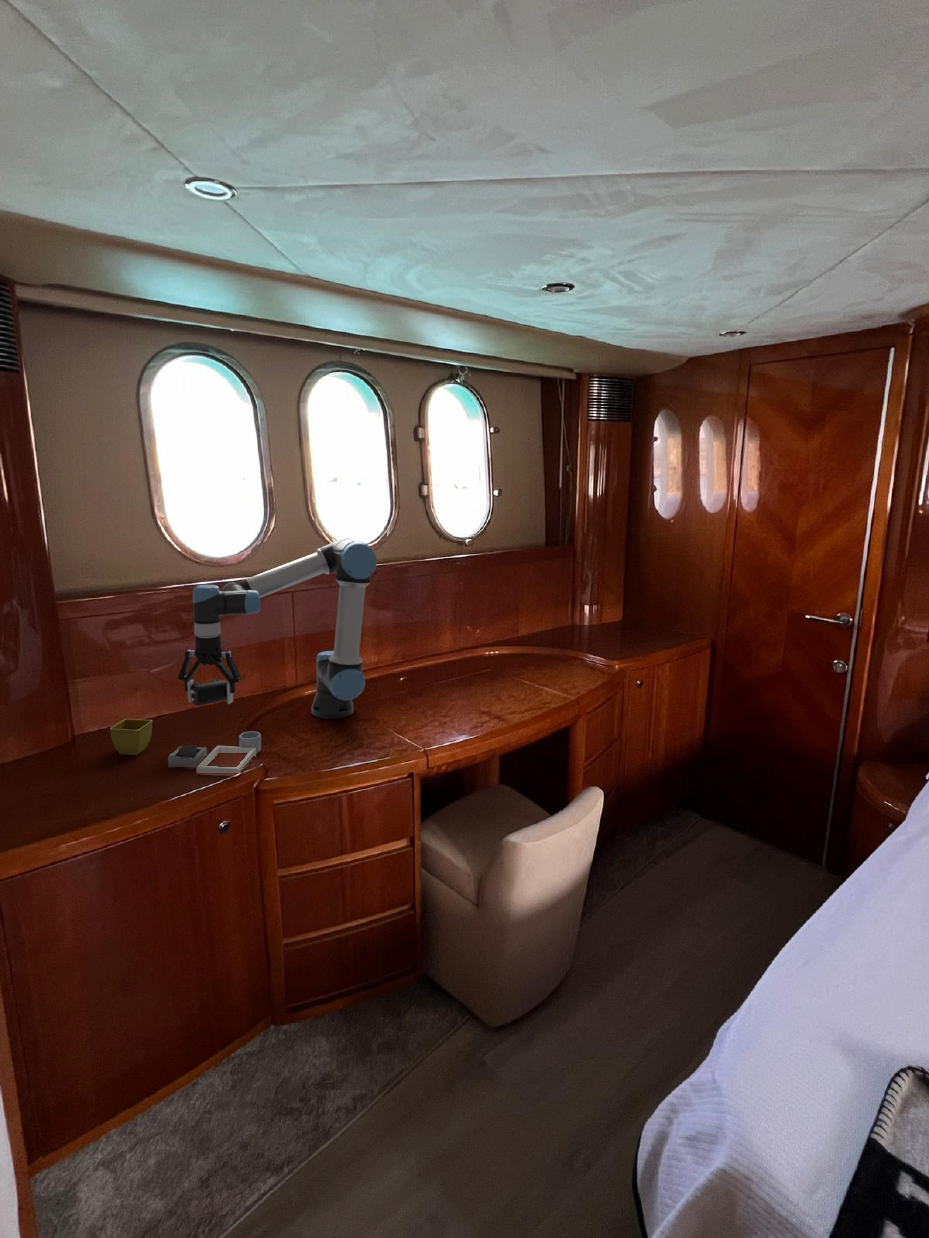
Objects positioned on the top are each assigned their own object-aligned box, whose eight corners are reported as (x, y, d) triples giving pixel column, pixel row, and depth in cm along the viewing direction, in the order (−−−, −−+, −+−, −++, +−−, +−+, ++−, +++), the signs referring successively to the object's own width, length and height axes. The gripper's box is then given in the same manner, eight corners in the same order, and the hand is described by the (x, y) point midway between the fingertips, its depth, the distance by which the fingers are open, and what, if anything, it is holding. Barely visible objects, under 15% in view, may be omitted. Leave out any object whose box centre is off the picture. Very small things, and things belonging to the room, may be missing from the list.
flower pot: (127, 745, 198) (125, 718, 196) (154, 746, 198) (153, 719, 196) (110, 756, 189) (108, 728, 187) (139, 758, 189) (137, 730, 187)
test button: (199, 754, 191) (199, 745, 190) (192, 761, 186) (192, 752, 185) (183, 753, 191) (182, 745, 190) (175, 760, 186) (175, 751, 185)
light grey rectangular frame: (256, 755, 195) (256, 747, 195) (238, 777, 181) (238, 769, 180) (217, 753, 195) (217, 745, 195) (196, 775, 181) (196, 766, 180)
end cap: (198, 709, 195) (197, 688, 193) (190, 702, 200) (189, 682, 198) (230, 702, 201) (230, 682, 200) (221, 696, 206) (221, 676, 205)
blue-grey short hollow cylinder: (263, 746, 202) (262, 731, 201) (256, 754, 196) (256, 739, 195) (244, 745, 202) (243, 730, 201) (237, 753, 196) (237, 738, 195)
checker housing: (207, 756, 192) (206, 745, 192) (195, 768, 185) (195, 757, 184) (180, 755, 192) (180, 744, 192) (168, 767, 185) (167, 755, 184)
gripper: (250, 633, 199) (252, 699, 204) (174, 630, 199) (178, 696, 204) (242, 639, 192) (244, 707, 197) (163, 636, 192) (167, 704, 197)
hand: (210, 701), depth 200 cm, fingers closed on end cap, 12 cm apart
